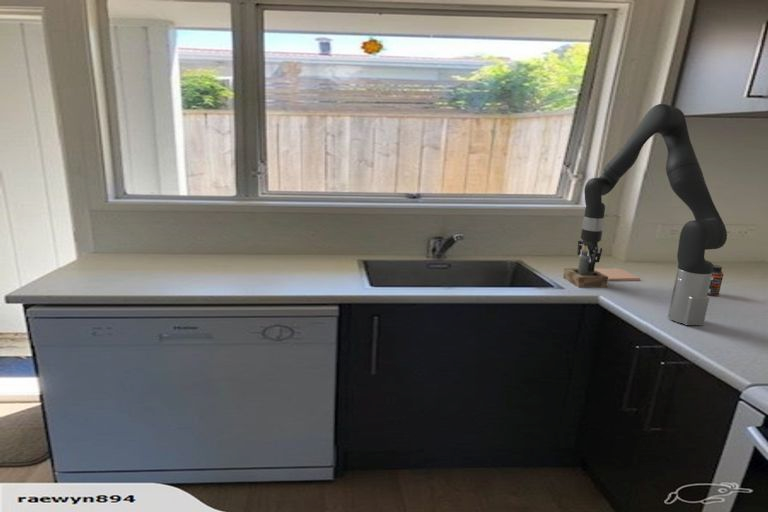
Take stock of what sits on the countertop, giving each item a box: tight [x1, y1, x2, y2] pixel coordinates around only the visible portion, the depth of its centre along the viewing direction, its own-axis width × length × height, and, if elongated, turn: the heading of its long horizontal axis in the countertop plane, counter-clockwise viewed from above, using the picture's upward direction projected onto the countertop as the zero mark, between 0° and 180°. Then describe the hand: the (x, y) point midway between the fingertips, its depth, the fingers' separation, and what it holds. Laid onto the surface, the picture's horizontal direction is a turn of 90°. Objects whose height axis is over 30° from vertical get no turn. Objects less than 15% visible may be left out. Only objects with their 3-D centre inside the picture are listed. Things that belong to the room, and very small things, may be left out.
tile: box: [594, 268, 641, 282], centre depth 196 cm, size 14×14×1 cm
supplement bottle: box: [707, 264, 724, 297], centre depth 174 cm, size 6×6×11 cm
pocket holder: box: [563, 267, 609, 288], centre depth 186 cm, size 12×12×4 cm
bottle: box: [577, 246, 596, 276], centre depth 184 cm, size 6×6×15 cm
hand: (586, 268), depth 185 cm, fingers closed on bottle, 5 cm apart
